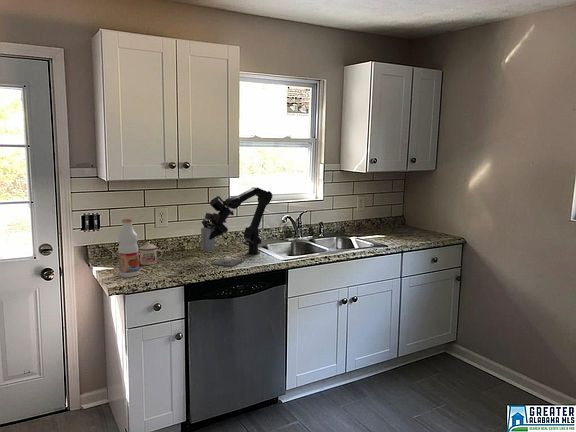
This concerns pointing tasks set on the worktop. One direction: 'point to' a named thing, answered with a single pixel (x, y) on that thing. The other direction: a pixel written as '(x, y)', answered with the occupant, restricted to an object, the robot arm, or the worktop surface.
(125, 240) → the fruit juice
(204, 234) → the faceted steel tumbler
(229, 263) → the rubber mat
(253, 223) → the robot arm
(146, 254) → the teacup with lid
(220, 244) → the worktop surface
